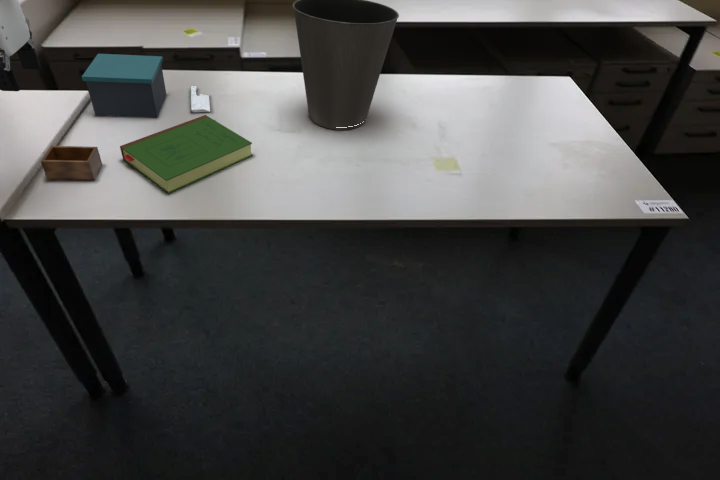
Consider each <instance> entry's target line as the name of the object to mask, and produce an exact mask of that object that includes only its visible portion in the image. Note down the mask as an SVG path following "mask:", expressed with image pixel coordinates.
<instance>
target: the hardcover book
mask: <svg viewBox="0 0 720 480" xmlns="http://www.w3.org/2000/svg"><path fill="white" fill-rule="evenodd" d="M252 144H253V143H252V141H250V140H248V139H247V138H245V137H243V136H241V135H240V134H238V133H237V132H235V131H233V130H231V129H230V128H228V127H226V126H225V125H223V124H222V123H220V122H218V121H217V120H215V119H214V118H212V117H210V116H208V115H206V114H203V115H201V116H199V117H195V118H193V119H190V120H188V121H185V122H182V123H179V124H176V125H174V126H172V127H169V128H166V129H163V130H160V131H158V132H157V131H156V132H154V133H152V134H150V135H146V136H144V137H141V138H139V139H135V140H132V141H129V142H128V143H125V144H122V145H119V149H120V152H121V157H122V160H123V161H124V162H125V163H127V164H128V165H129V166H131V167H132V168H133V169H135V170H136V171H137V172H139V173H140V174H142V176H144V177H146V178H147V179H148V180H150V181H151V182H152V183H153V184H155V185H156V186H157V187H159V188H160V189H162V190H163V191H164V192H165V193H166V194H172V193H174V192H176V191H178V190H180V189H182V188H184V187H187V186H189V185H191V184H193V183H196V182H198V181H200V180H202V179H204V178H207V177H209V176H212V175H214V174H216V173H218V172H220V171H223V170H225V169H227V168H229V167H231V166H233V165H236V164H237V163H238V164H239V163H240V162H242V161H244V160H247V159H249V158H251V157H253V156H254V155H253V154H252Z"/></svg>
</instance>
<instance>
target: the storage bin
mask: <svg viewBox="0 0 720 480" xmlns="http://www.w3.org/2000/svg"><path fill="white" fill-rule="evenodd" d="M163 62H164V58H163V56H162V55H161V56H160V55H157V56H156V55H139V54H138V55H136V54H117V53H115V54H114V53H97V55H95V57H94V58H93V59H92V61H91V62H90V64H89V66H88V67H87V69H86V70H85V71H84V73H83V74H82V75H81V79H82V82H85V83H86V87H87V90H88V95H89V98H90V102H91V105H92V108H93V109H92V110H93V113H94V116H96V117H121V118H122V117H126V118H127V117H128V118H154V119H155V118H158V117H159V115H160V111H161V109H162V107H163V104H164V102H165V100H166V97H167V89H166V83H165V77H164V71H163V66H162V64H163Z"/></svg>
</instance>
